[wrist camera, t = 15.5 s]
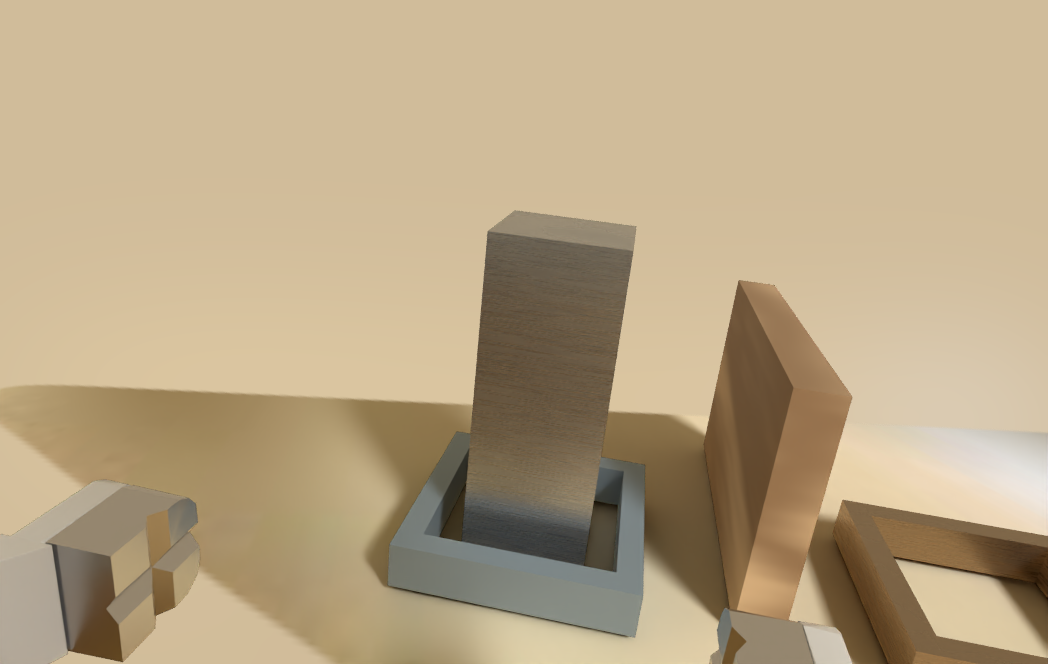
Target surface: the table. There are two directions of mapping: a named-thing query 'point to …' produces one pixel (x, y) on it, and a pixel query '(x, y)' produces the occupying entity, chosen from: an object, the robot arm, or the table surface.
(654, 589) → the table surface
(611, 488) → the keeper socket
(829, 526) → the table surface
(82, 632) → the robot arm
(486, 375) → the block
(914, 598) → the key socket
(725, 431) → the board
